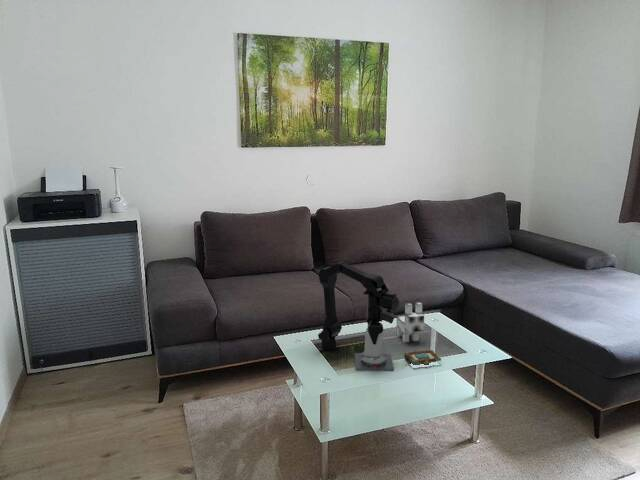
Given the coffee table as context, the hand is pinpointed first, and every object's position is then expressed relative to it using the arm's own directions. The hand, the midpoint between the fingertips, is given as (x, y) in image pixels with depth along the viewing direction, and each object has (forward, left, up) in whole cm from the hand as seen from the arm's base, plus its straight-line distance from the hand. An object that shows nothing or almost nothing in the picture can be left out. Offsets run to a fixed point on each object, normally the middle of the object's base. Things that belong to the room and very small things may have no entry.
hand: (373, 340), depth 210 cm
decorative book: (+19, -1, -11) cm, 22 cm away
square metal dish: (0, 0, -10) cm, 10 cm away
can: (0, 0, -7) cm, 7 cm away
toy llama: (+19, +26, -11) cm, 34 cm away
